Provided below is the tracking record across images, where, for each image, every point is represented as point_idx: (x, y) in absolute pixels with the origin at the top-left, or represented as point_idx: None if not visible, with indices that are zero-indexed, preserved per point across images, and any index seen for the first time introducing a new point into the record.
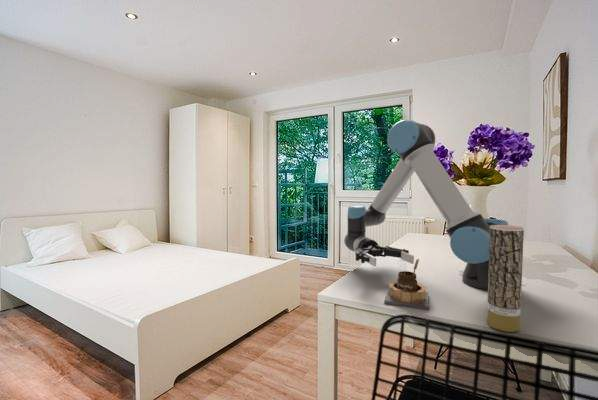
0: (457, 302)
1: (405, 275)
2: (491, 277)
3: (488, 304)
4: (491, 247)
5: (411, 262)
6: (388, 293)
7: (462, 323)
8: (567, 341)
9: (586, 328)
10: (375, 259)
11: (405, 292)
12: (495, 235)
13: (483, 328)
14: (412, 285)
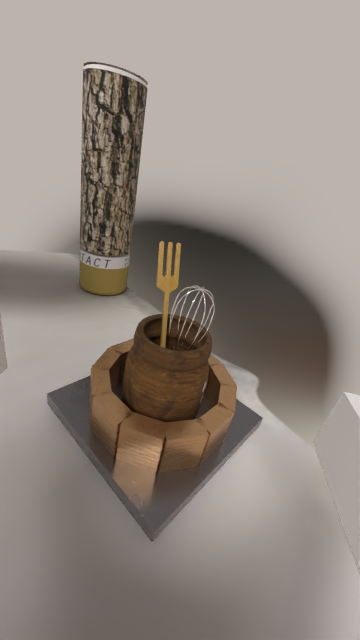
0: (38, 342)
1: (201, 325)
2: (132, 204)
3: (123, 259)
4: (138, 135)
5: (3, 362)
6: (213, 459)
7: (150, 311)
8: (78, 260)
9: (5, 252)
10: (345, 402)
11: (210, 356)
12: (145, 104)
13: (135, 296)
14: (175, 343)
